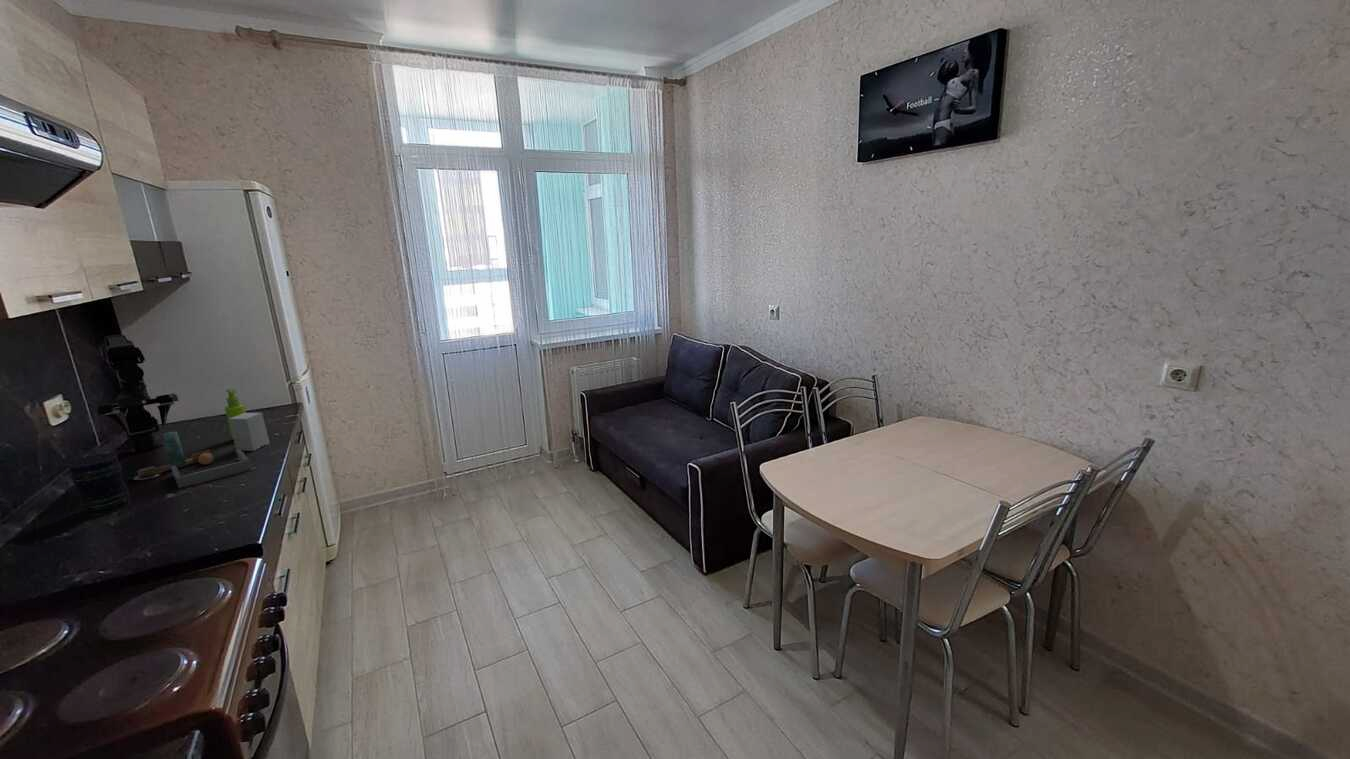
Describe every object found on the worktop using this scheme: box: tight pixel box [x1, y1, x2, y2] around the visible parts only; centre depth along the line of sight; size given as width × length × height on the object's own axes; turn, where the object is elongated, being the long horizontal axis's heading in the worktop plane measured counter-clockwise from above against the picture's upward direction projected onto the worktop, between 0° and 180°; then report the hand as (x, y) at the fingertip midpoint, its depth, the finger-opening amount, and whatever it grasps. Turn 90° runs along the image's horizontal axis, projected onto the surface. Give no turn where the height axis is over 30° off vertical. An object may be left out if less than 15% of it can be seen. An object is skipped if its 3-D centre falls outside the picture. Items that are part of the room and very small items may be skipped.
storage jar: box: [67, 452, 132, 516], centre depth 155 cm, size 10×10×15 cm
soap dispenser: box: [224, 388, 247, 440], centre depth 207 cm, size 6×7×20 cm
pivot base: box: [133, 472, 164, 481], centre depth 177 cm, size 7×7×1 cm
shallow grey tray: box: [170, 450, 253, 489], centre depth 178 cm, size 15×18×4 cm
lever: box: [136, 431, 214, 478], centre depth 182 cm, size 19×4×12 cm, turn 148°
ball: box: [198, 452, 214, 465], centre depth 186 cm, size 4×4×4 cm
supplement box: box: [227, 412, 270, 452], centre depth 199 cm, size 7×7×13 cm
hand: (146, 429), depth 178 cm, fingers open, 9 cm apart
